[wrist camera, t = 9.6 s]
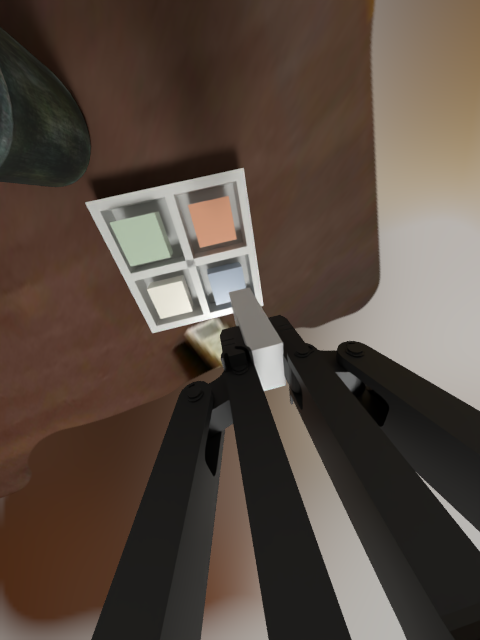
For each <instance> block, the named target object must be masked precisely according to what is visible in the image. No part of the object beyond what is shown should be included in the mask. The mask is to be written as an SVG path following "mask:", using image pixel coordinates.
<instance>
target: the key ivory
mask: <svg viewBox="0 0 480 640" xmlns="http://www.w3.org/2000/svg"><path fill="white" fill-rule="evenodd" d="M147 291H148V293H149V295H150V297H151V300H152V302H153V304H154V306H155V308H156V310H157V312H158V314H159V317H160V319H163V318H167V317H171V316H175V315H180V314H184V313H188V312H192V311H193V301H192V298H191V295H190V292H189V289H188V287H187V284H186V281H185V278H184V275H180V276H176V277H172V278H168V279H164V280H159V281H155V282H151V283H150V285H149V286H148V288H147Z"/></svg>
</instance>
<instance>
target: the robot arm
mask: <svg viewBox="0 0 480 640" xmlns="http://www.w3.org/2000/svg"><path fill="white" fill-rule="evenodd" d="M229 296H230V300H231V305H232V309H233V314H234V318H235V323H236V327H232V328H227V329H223V330H222V332H221V334H220V339H221V345H222V351H223V352H222V354H221V361H222V364H223V368H224V372H223V373H222V375H221V376H220V377H219V378H217V379H216V380H214V381H213V382H211V383H209V384H208V383H206V382H204V381H197V382H193V383H191V384H189V385H187V386H186V387H185V388H184V389H183V390H182V391H181V393H180V395H179V398H178V400H177V403H176V406H175V409H174V412H173V414H172V417H171V420H170V422H169V426H168V428H167V431H166V434H165V436H164V439H163V442H162V445H161V448H160V451H159V453H158V456H157V459H156V461H155V464H154V467H153V470H152V473H151V475H150V478H149V481H148V484H147V487H146V490H145V492H144V495H143V497H142V500H141V503H140V506H139V509H138V511H137V514H136V517H135V520H134V523H133V525H132V528H131V531H130V534H129V536H128V540H127V542H126V545H125V548H124V550H123V553H122V556H121V559H120V561H119V564H118V567H117V570H116V573H115V575H114V578H113V581H112V584H111V586H110V590H109V592H108V595H107V598H106V600H105V603H104V606H103V609H102V611H101V614H100V617H99V620H98V623H97V626H96V628H95V631H94V634H93V637H92V639H91V640H200V639H201V630H202V622H203V613H204V605H205V596H206V588H207V579H208V570H209V562H210V553H211V545H212V536H213V527H214V520H215V519H214V518H215V511H216V502H217V494H218V485H219V477H220V468H221V460H222V450H223V443H224V434H225V428H227V427H228V426H230V425H231V424H234V430H235V437H236V443H237V449H238V455H239V461H240V467H241V474H242V480H243V486H244V492H245V497H246V504H247V510H248V516H249V522H250V528H251V534H252V541H253V547H254V552H255V559H256V565H257V571H258V577H259V583H260V589H261V595H262V601H263V608H264V613H265V619H266V626H267V632H268V638H269V640H351V637H350V634H349V631H348V628H347V626H346V623H345V620H344V617H343V615H342V612H341V609H340V606H339V603H338V600H337V597H336V595H335V592H334V589H333V586H332V583H331V580H330V577H329V575H328V572H327V569H326V566H325V564H324V560H323V558H322V555H321V552H320V549H319V546H318V543H317V541H316V538H315V535H314V532H313V530H312V526H311V524H310V521H309V518H308V515H307V512H306V510H305V507H304V504H303V501H302V498H301V495H300V493H299V490H298V487H297V484H296V481H295V478H294V475H293V473H292V470H291V467H290V464H289V461H288V458H287V456H286V453H285V450H284V447H283V444H282V442H281V439H280V436H279V433H278V430H277V428H276V424H275V422H274V419H273V416H272V413H271V410H270V408H269V405H268V402H267V399H266V396H265V393H264V391H266V390H270V389H274V388H277V387H281V386H285V385H286V380H287V382H288V384H289V391H290V401H291V404H293V401H294V403H295V405H296V407H297V409H298V411H299V413H300V415H301V417H302V420H303V422H304V424H305V426H306V428H307V430H308V432H309V434H310V436H311V438H312V441H313V443H314V445H315V447H316V449H317V451H318V453H319V455H320V457H321V459H322V462H323V464H324V466H325V468H326V470H327V472H328V474H329V476H330V478H331V480H332V482H333V485H334V487H335V489H336V491H337V493H338V495H339V497H340V499H341V501H342V503H343V506H344V508H345V510H346V511H347V514H348V516H349V518H350V520H351V522H352V524H353V526H354V529H355V531H356V533H357V535H358V537H359V539H360V541H361V543H362V545H363V547H364V549H365V552H366V554H367V556H368V557H369V560H370V562H371V564H372V566H373V568H374V570H375V572H376V575H377V577H378V579H379V581H380V583H381V585H382V587H383V589H384V591H385V593H386V596H387V598H388V600H389V602H390V604H391V606H392V608H393V610H394V612H395V614H396V616H397V618H398V621H399V623H400V625H401V627H402V629H403V631H404V634H405V636H406V639H407V640H480V551H479V550H478V549H477V548H476V546H475V545H474V544H473V543H472V541H471V540H470V539H469V538H468V536H467V535H466V534H465V533H464V532H463V530H462V529H461V528H460V526H459V525H458V524H457V523H456V521H455V520H454V519H453V518H452V517H451V515H450V514H449V513H448V512H447V510H446V509H445V508H444V507H443V505H442V504H441V503H440V502H439V500H438V499H437V498H436V497H435V495H434V494H433V493H432V492H431V490H430V489H429V488H428V487H427V485H426V484H425V483H424V482H423V480H422V479H421V478H420V477H419V475H420V476H421V477H422V478H423V479H424V480H425V481H426V482H427V483H428V484H429V485H430V486H432V487H433V488H434V489H435V490H436V491H437V492H438V493H439V494H440V495H441V496H442V497H443V498H444V499H445V500H447V501H448V502H449V503H450V504H451V505H452V506H453V507H454V508H455V509H456V510H457V511H458V512H459V513H460V514H461V515H462V516H464V517H465V518H466V519H467V520H468V521H469V522H470V523H471V524H472V525H473V526H474V527H475V528H476V529H477V530H478V531H480V411H479V410H477V409H475V408H473V407H472V406H470V405H468V404H466V403H465V402H463V401H461V400H460V399H458V398H456V397H455V396H453V395H451V394H449V393H448V392H446V391H444V390H442V389H441V388H439V387H437V386H436V385H434V384H432V383H431V382H429V381H427V380H425V379H424V378H422V377H420V376H418V375H417V374H415V373H413V372H412V371H410V370H408V369H406V368H405V367H403V366H401V365H400V364H398V363H396V362H394V361H392V360H391V359H389V358H388V357H386V356H384V355H382V354H381V353H379V352H377V351H376V350H374V349H372V348H370V347H369V346H367V345H365V344H363V343H360V342H355V341H347V342H343V343H341V344H340V345H339V346H338V348H337V351H320V350H317V349H316V348H315V347H314V346H313V345H310V344H308V343H305V342H304V341H303V340H302V338H301V337H300V336H299V334H298V333H297V332H296V330H295V329H294V328H293V326H292V325H291V324H290V322H289V321H288V320H287V318H285V317H283V316H281V315H278V316H274V317H270V318H268V317H267V316H266V314H265V312H264V311H263V309H262V307H261V306H260V304H259V302H258V301H257V299H256V297H255V296H254V294H253V292H252V291H251V289H250V288H245V289H241V290H237V291H232V292H229ZM416 472H417V473H418V474H419V475H418V474H417V473H416Z"/></svg>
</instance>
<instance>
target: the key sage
mask: <svg viewBox="0 0 480 640" xmlns="http://www.w3.org/2000/svg"><path fill="white" fill-rule="evenodd" d="M110 225H111V227H112V229H113V231H114V233H115V235H116V237H117V239H118V241H119V244H120V246H121V248H122V250H123V252H124V254H125V256H126V258H127V260H128V262H129V264H130V266H136V265H140V264H144V263H148V262H153V261H157V260H161V259H166V258H170V257H171V256H172V254H173V250H172V247H171V245H170V242H169V239H168V236H167V233H166V231H165V228H164V225H163V222H162V219H161V217H160V214H159V212H154V213H150V214H145V215H141V216H136V217H132V218H127V219H123V220H119V221H114V222H110Z"/></svg>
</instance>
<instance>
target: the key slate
mask: <svg viewBox="0 0 480 640" xmlns="http://www.w3.org/2000/svg"><path fill="white" fill-rule="evenodd" d="M207 274H208V278H209V281H210V285H211V288H212V292H213V295H214V299H215V302H216V305H220V304H224V303H228V302H231V300H230V296H229V292H232V291H237V290H241V289H245V288H246V286H245V280H244V275H243V270H242V266H241V264H240V263H239V262H235V263H231V264H226V265H222V266H218V267H214V268H210V269H207Z"/></svg>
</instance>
